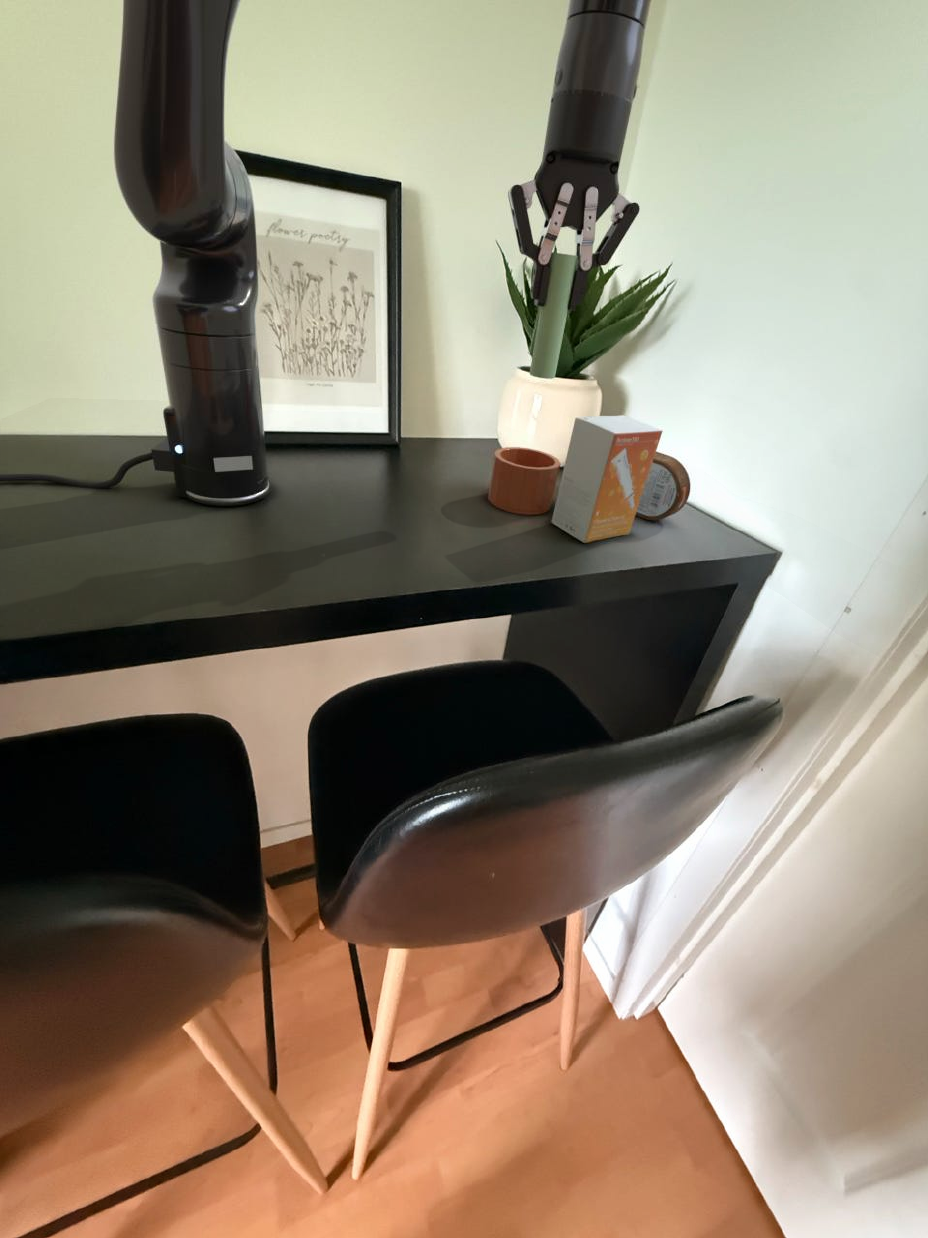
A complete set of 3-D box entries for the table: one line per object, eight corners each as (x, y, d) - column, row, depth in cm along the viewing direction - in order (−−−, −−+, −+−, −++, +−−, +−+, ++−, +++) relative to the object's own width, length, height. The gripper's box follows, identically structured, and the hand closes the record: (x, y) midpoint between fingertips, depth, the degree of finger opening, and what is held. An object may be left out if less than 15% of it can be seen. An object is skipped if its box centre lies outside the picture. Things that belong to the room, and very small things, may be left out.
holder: (491, 511, 70) (499, 465, 67) (485, 487, 77) (491, 444, 73) (556, 517, 71) (566, 471, 68) (543, 492, 78) (552, 450, 74)
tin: (679, 525, 74) (701, 463, 69) (668, 531, 72) (691, 468, 67) (584, 488, 81) (599, 430, 77) (572, 492, 79) (587, 433, 75)
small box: (584, 545, 65) (614, 432, 58) (549, 523, 69) (573, 415, 62) (631, 535, 69) (664, 429, 62) (595, 514, 73) (623, 413, 66)
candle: (531, 376, 63) (553, 252, 57) (527, 371, 66) (547, 251, 59) (557, 379, 64) (581, 256, 57) (551, 374, 66) (574, 255, 60)
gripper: (650, 116, 55) (605, 312, 65) (512, 92, 54) (487, 296, 63) (679, 100, 49) (625, 319, 59) (525, 72, 47) (495, 302, 57)
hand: (554, 306), depth 61 cm, fingers closed on candle, 3 cm apart
